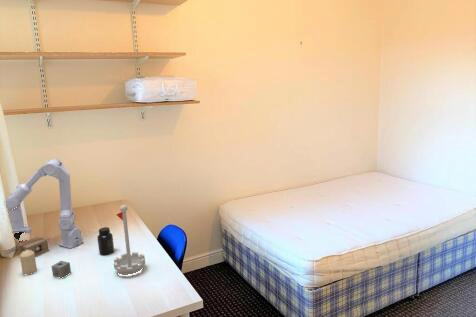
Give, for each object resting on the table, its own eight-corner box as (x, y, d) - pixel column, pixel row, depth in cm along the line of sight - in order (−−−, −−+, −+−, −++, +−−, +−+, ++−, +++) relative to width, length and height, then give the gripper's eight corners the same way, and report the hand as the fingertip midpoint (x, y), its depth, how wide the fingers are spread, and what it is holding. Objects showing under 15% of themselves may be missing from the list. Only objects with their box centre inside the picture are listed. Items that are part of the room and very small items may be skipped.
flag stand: (152, 267, 165) (146, 202, 158) (129, 281, 154) (122, 212, 147) (130, 260, 171) (124, 198, 165) (108, 273, 160) (100, 207, 154)
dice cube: (62, 271, 164) (60, 260, 163) (71, 273, 162) (69, 262, 161) (53, 276, 160) (51, 266, 158) (61, 278, 158) (60, 268, 157)
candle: (21, 276, 161) (17, 254, 159) (24, 269, 166) (21, 249, 164) (35, 273, 162) (31, 252, 160) (38, 267, 168) (34, 247, 165)
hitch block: (49, 250, 184) (47, 239, 183) (29, 259, 175) (27, 247, 174) (38, 247, 188) (36, 236, 186) (19, 256, 179) (17, 244, 178)
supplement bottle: (114, 248, 184) (111, 225, 182) (114, 253, 178) (111, 230, 176) (99, 250, 182) (96, 227, 180) (99, 256, 176) (96, 233, 173)
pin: (43, 251, 182) (42, 242, 181) (34, 255, 178) (32, 246, 176) (28, 246, 187) (26, 237, 186) (18, 250, 183) (17, 241, 182)
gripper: (34, 217, 184) (38, 243, 187) (11, 215, 189) (16, 240, 192) (22, 223, 178) (27, 249, 181) (-1, 220, 182) (4, 246, 185)
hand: (20, 245), depth 186 cm, fingers closed
